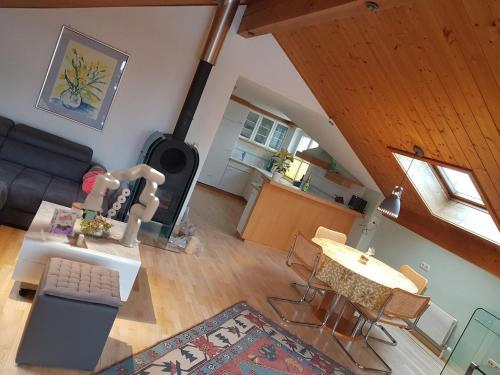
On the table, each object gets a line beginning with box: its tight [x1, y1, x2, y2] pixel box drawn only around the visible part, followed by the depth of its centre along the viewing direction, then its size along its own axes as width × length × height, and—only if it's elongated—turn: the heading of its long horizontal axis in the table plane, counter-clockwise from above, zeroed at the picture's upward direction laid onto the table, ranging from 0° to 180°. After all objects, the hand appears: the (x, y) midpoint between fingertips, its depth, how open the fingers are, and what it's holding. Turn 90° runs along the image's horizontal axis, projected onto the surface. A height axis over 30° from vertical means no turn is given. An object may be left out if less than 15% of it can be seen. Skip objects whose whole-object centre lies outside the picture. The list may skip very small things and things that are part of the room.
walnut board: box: [66, 231, 89, 249], centre depth 260 cm, size 11×18×5 cm, turn 35°
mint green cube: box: [83, 210, 96, 223], centre depth 254 cm, size 5×5×7 cm
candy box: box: [47, 207, 78, 236], centre depth 263 cm, size 14×6×16 cm, turn 131°
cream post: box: [76, 233, 85, 246], centre depth 256 cm, size 3×3×7 cm
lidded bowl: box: [70, 202, 85, 219], centre depth 305 cm, size 13×13×11 cm
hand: (87, 218), depth 254 cm, fingers closed on mint green cube, 5 cm apart
